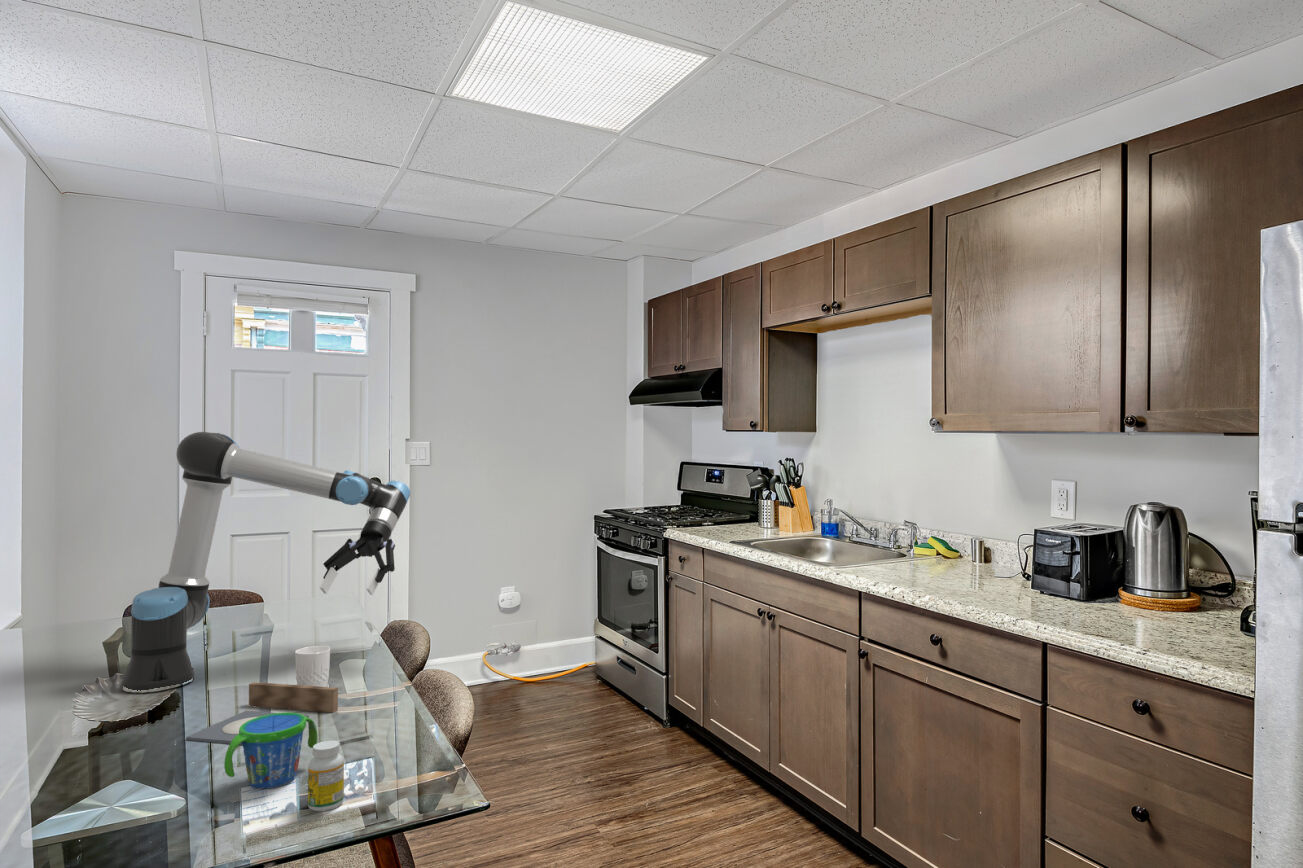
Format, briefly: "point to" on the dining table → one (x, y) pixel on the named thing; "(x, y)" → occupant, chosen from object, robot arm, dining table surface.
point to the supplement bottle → (326, 777)
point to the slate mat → (226, 728)
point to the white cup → (312, 666)
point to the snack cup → (271, 748)
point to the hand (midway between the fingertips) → (346, 591)
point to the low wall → (293, 697)
